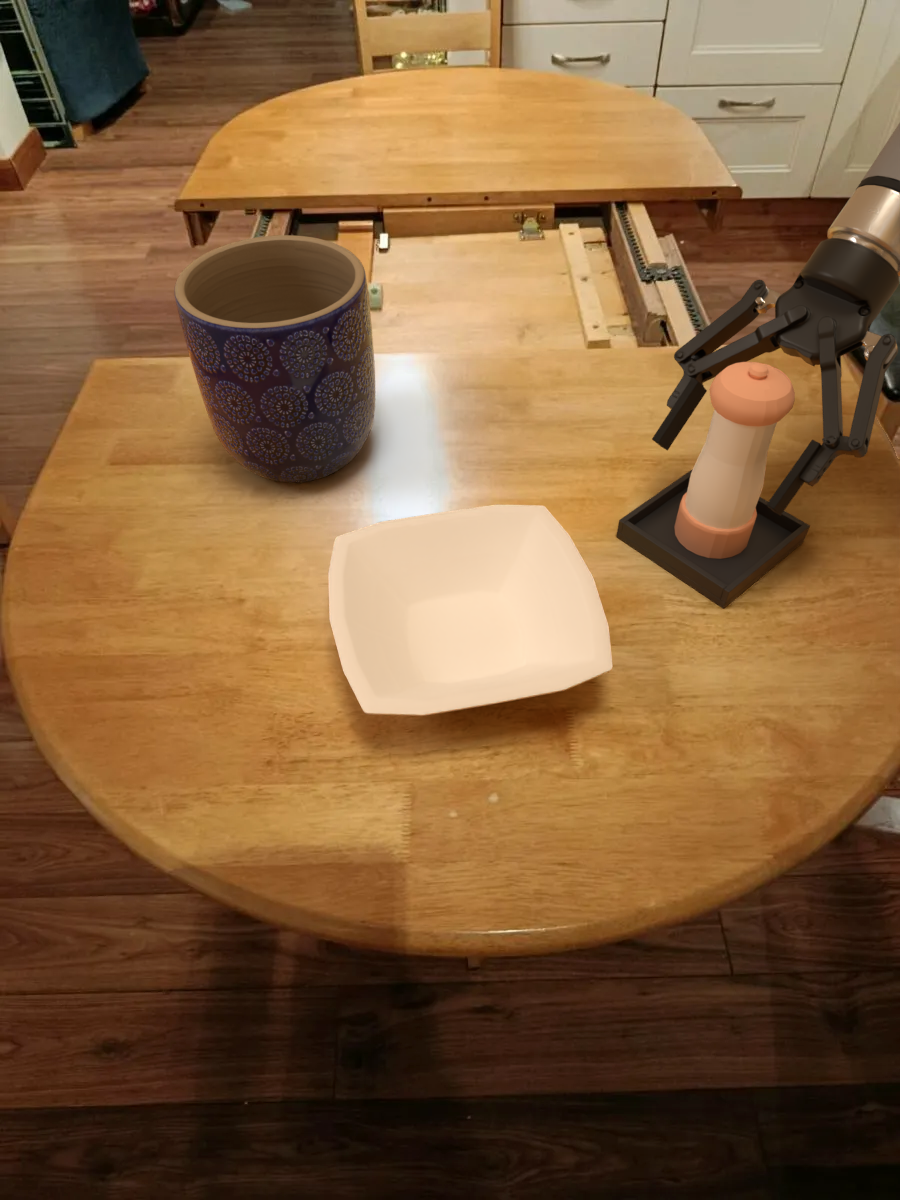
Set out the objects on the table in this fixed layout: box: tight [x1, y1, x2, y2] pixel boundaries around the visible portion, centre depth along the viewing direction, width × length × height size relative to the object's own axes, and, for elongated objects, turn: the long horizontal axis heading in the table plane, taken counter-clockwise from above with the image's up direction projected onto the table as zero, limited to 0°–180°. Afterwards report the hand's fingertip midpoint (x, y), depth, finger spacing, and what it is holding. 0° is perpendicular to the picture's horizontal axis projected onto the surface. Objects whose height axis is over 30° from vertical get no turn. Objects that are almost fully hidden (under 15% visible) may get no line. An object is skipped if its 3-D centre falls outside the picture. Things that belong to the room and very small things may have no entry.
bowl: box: [327, 503, 614, 717], centre depth 75 cm, size 22×23×6 cm
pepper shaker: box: [674, 361, 796, 559], centre depth 78 cm, size 7×7×19 cm
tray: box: [615, 468, 811, 609], centre depth 85 cm, size 13×13×2 cm
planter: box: [173, 234, 376, 483], centre depth 88 cm, size 18×18×21 cm
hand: (714, 476), depth 77 cm, fingers open, 12 cm apart
